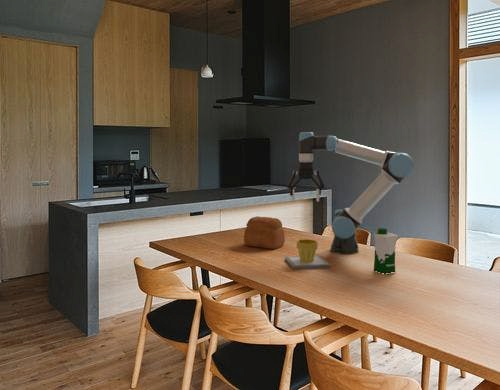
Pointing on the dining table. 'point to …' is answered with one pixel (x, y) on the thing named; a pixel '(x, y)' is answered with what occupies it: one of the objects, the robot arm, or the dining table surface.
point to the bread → (264, 233)
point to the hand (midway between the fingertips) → (305, 201)
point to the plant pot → (307, 249)
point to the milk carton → (384, 251)
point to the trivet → (307, 263)
